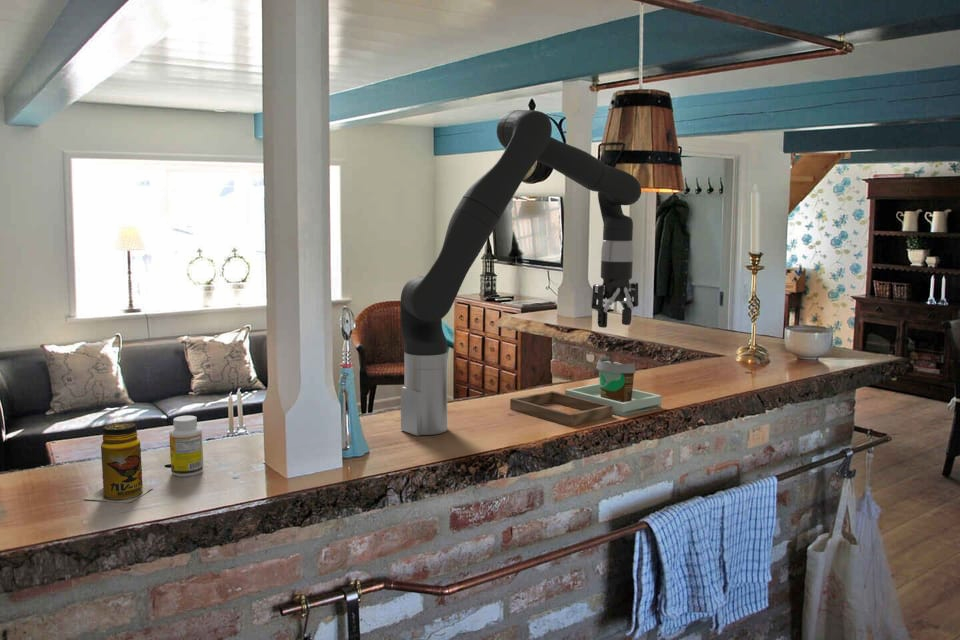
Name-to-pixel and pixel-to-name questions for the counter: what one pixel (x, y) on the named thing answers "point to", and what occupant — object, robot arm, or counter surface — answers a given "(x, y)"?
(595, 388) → the sage tray
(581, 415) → the walnut frame
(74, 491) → the counter surface
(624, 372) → the food container
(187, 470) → the supplement bottle
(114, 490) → the condiment
